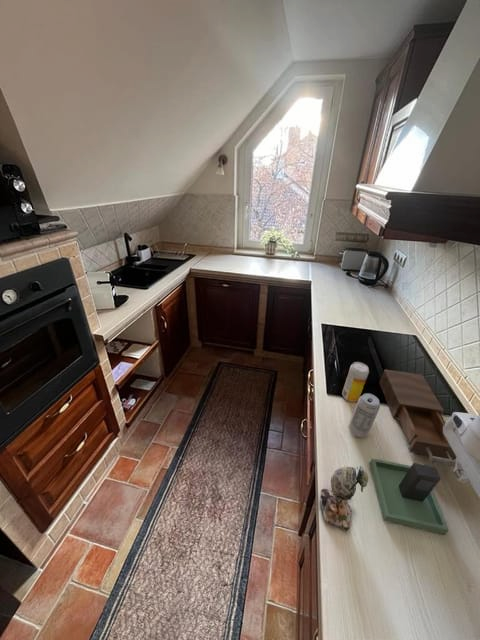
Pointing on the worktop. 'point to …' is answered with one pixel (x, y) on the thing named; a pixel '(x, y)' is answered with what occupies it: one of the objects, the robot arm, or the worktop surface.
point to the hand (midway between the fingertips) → (459, 477)
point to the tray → (404, 499)
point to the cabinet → (408, 392)
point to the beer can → (355, 381)
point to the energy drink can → (364, 415)
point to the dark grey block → (419, 482)
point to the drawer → (426, 434)
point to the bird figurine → (342, 495)
